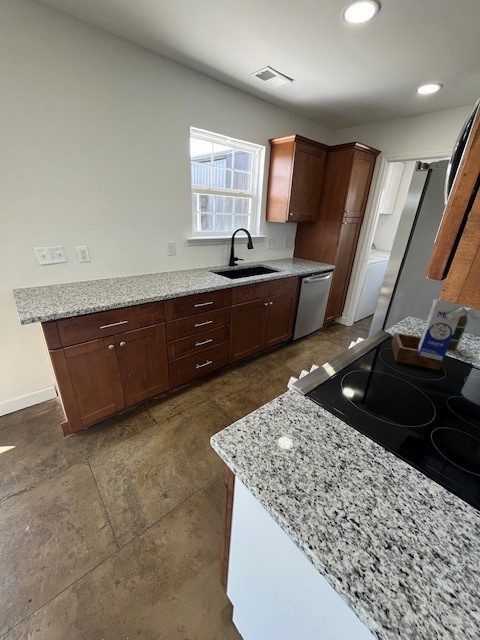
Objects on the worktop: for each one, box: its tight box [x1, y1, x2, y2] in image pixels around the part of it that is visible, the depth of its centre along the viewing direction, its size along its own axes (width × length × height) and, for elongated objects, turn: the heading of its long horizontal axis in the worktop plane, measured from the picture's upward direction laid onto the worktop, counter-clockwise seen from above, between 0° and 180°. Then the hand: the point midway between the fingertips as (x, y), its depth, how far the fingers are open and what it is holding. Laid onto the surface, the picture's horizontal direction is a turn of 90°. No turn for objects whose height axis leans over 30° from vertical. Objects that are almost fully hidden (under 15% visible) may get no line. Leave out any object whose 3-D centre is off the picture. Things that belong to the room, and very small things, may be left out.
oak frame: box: [390, 332, 443, 371], centre depth 105 cm, size 14×14×6 cm
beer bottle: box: [447, 314, 469, 351], centre depth 110 cm, size 8×8×24 cm
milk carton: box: [418, 298, 461, 363], centre depth 86 cm, size 7×7×20 cm
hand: (442, 312), depth 84 cm, fingers closed on milk carton, 7 cm apart
